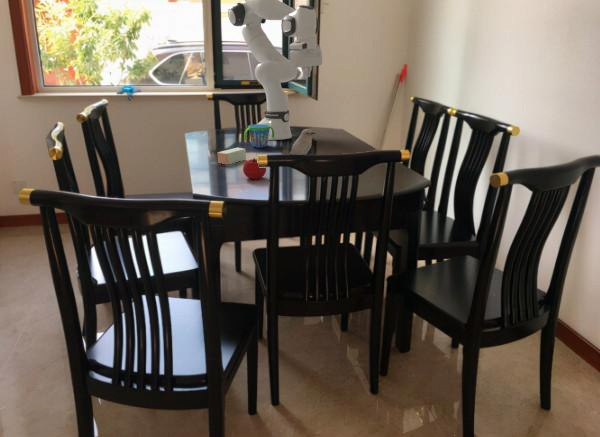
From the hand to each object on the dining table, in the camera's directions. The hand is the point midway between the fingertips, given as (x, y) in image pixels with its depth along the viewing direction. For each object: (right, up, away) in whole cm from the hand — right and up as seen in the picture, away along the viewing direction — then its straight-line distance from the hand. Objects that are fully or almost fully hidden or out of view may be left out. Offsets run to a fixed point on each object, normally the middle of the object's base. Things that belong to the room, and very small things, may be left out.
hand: (306, 77), depth 231 cm
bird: (-3, -41, -16) cm, 44 cm away
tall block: (-29, -36, -7) cm, 46 cm away
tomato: (-20, -49, -36) cm, 64 cm away
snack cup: (-23, -29, +18) cm, 41 cm away
